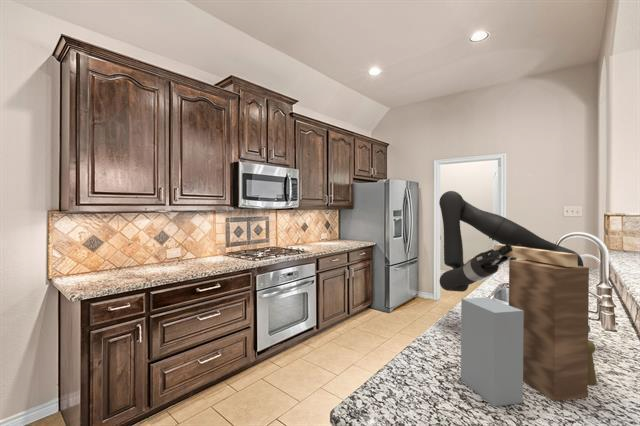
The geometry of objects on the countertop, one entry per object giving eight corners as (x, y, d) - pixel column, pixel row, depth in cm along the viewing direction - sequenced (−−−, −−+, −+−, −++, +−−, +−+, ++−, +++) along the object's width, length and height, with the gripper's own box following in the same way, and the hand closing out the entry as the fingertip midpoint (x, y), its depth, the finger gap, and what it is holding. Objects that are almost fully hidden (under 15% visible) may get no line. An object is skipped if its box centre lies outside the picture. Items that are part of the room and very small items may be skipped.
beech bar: (577, 266, 76) (577, 254, 76) (567, 266, 76) (567, 254, 76) (501, 253, 100) (501, 244, 100) (493, 253, 99) (493, 244, 99)
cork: (602, 386, 82) (603, 344, 82) (576, 384, 83) (576, 342, 83) (587, 375, 88) (588, 336, 88) (563, 372, 89) (563, 334, 89)
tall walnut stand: (587, 396, 77) (588, 267, 77) (554, 401, 75) (555, 268, 75) (537, 368, 91) (538, 259, 91) (508, 372, 89) (509, 260, 89)
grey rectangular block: (522, 402, 74) (523, 310, 74) (493, 406, 73) (494, 312, 73) (486, 376, 86) (487, 297, 86) (460, 379, 84) (461, 298, 84)
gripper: (458, 257, 108) (490, 235, 93) (493, 256, 110) (530, 235, 96) (465, 278, 104) (500, 259, 89) (501, 276, 107) (541, 258, 92)
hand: (515, 246), depth 93 cm, fingers closed on beech bar, 3 cm apart
